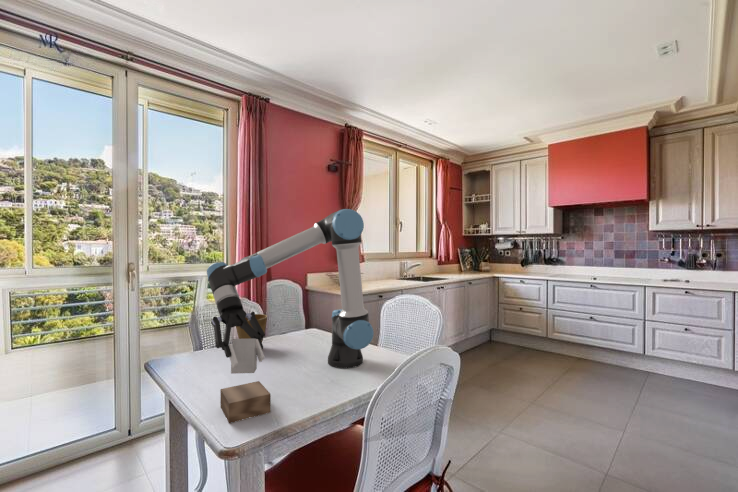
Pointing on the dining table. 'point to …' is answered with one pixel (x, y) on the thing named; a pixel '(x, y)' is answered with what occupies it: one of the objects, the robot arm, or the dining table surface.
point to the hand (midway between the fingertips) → (248, 362)
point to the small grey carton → (245, 355)
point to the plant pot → (262, 322)
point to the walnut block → (245, 401)
